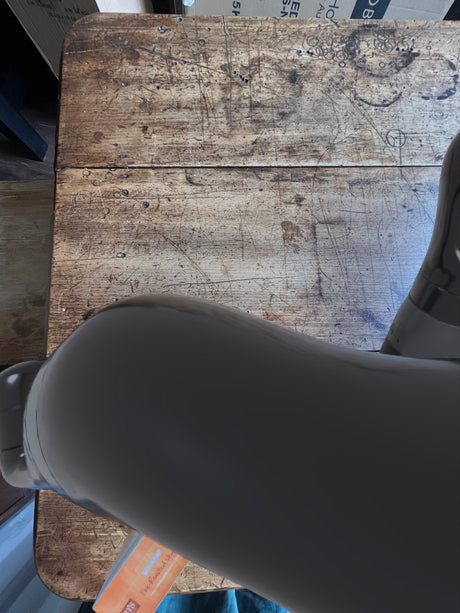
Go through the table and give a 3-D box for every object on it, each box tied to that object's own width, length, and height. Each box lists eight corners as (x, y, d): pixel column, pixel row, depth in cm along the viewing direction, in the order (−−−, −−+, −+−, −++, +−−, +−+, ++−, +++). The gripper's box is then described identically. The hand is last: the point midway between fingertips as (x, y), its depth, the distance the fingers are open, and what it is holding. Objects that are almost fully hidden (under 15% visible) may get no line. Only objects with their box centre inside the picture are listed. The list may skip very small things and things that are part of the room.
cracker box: (159, 554, 58) (132, 648, 38) (128, 529, 59) (86, 609, 38) (214, 476, 61) (217, 525, 40) (185, 452, 61) (173, 489, 41)
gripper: (367, 360, 34) (320, 469, 43) (520, 377, 34) (441, 480, 44) (348, 313, 40) (310, 417, 49) (477, 328, 41) (416, 427, 50)
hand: (372, 446), depth 46 cm, fingers closed on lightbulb, 6 cm apart
